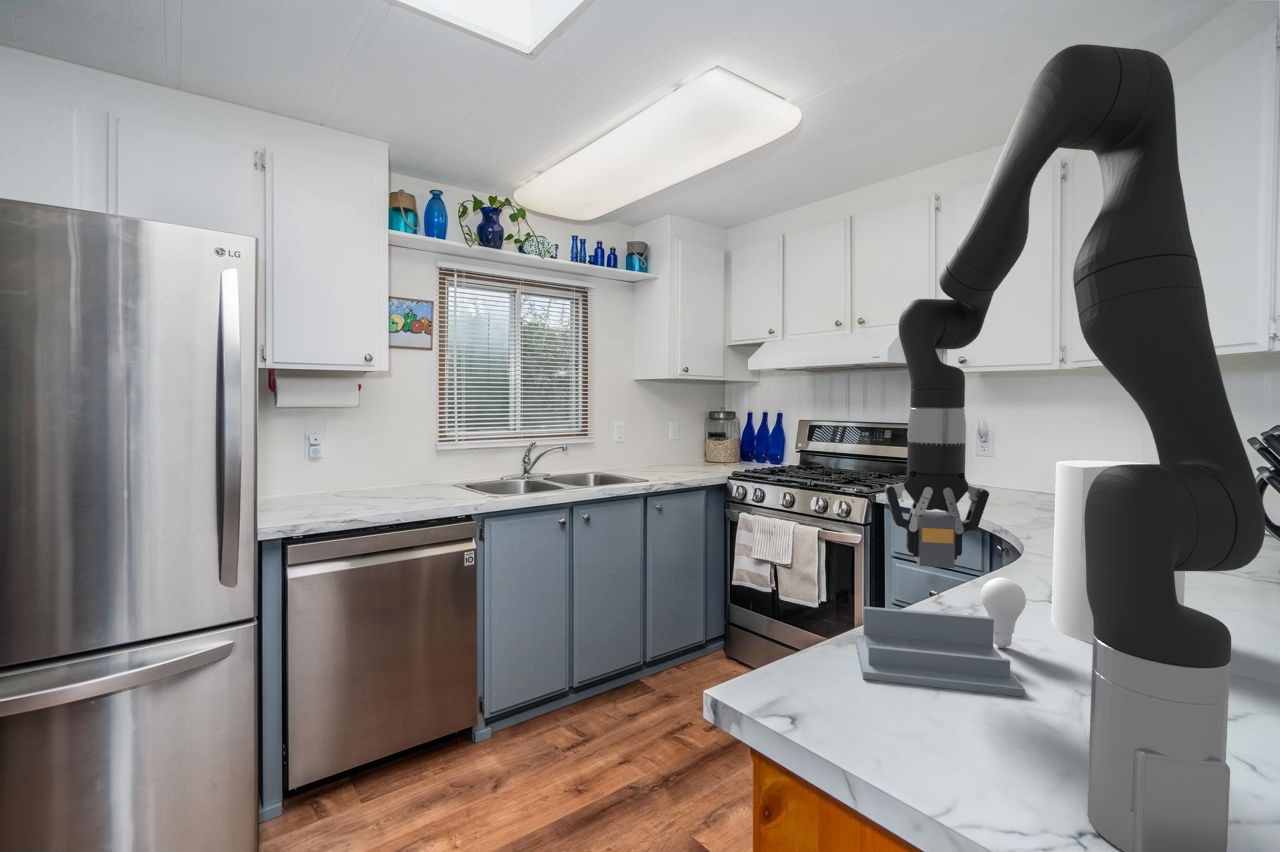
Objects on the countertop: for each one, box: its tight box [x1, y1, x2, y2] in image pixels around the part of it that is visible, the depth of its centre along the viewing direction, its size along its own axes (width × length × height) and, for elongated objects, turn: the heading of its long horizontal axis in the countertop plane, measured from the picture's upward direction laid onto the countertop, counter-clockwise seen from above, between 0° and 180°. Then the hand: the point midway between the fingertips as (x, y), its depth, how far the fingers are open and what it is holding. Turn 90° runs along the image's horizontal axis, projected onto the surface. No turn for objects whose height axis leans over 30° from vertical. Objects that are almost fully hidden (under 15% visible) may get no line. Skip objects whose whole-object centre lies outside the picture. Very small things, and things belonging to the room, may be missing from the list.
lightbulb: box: [980, 577, 1027, 649], centre depth 96 cm, size 6×6×11 cm
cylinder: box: [1050, 459, 1186, 645], centre depth 102 cm, size 17×17×28 cm
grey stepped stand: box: [855, 606, 1026, 698], centre depth 89 cm, size 12×20×6 cm, turn 75°
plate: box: [864, 634, 1003, 659], centre depth 90 cm, size 7×18×2 cm, turn 75°
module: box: [913, 510, 956, 569], centre depth 89 cm, size 5×4×7 cm
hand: (933, 556), depth 89 cm, fingers closed on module, 4 cm apart
